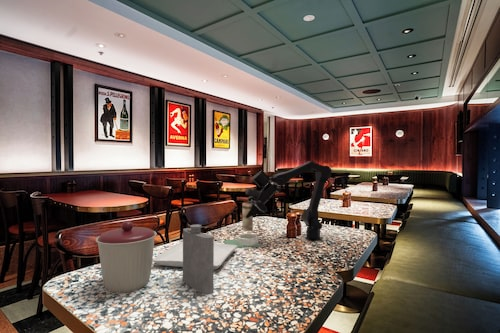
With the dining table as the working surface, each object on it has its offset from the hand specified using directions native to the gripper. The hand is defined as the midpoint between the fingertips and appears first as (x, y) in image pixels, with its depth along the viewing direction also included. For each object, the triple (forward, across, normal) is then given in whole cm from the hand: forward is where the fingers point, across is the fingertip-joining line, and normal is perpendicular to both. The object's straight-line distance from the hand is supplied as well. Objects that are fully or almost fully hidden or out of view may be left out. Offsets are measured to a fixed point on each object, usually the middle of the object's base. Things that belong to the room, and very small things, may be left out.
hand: (244, 216), depth 137 cm
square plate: (+27, +17, -7) cm, 32 cm away
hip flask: (+28, +43, -9) cm, 52 cm away
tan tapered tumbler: (+4, 0, +6) cm, 7 cm away
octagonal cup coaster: (+11, 0, +8) cm, 14 cm away
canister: (+43, +37, -24) cm, 62 cm away
